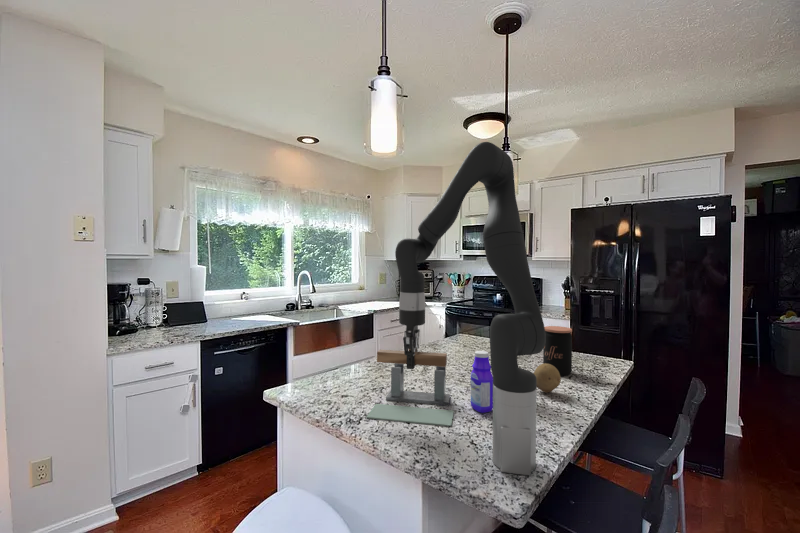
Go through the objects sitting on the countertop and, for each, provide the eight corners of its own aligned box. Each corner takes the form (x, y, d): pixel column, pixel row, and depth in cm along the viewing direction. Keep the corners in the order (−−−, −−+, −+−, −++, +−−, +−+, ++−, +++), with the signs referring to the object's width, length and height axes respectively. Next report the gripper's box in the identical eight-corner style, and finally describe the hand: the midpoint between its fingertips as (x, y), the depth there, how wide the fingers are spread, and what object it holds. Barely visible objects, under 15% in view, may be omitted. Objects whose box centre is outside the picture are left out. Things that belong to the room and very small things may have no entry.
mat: (451, 426, 100) (451, 425, 100) (366, 418, 105) (366, 416, 105) (453, 412, 110) (453, 410, 110) (376, 404, 115) (376, 403, 115)
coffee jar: (537, 370, 152) (537, 327, 152) (556, 367, 157) (556, 325, 157) (558, 378, 143) (558, 331, 142) (577, 374, 147) (578, 329, 147)
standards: (448, 405, 115) (448, 372, 115) (385, 400, 119) (386, 367, 119) (450, 397, 122) (450, 366, 122) (391, 392, 126) (391, 362, 126)
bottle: (466, 406, 115) (467, 350, 114) (482, 403, 117) (483, 348, 116) (480, 415, 108) (480, 355, 108) (496, 412, 110) (497, 354, 110)
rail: (445, 366, 104) (445, 356, 104) (377, 362, 108) (377, 351, 108) (446, 363, 107) (446, 353, 107) (379, 359, 111) (379, 349, 111)
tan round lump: (564, 398, 122) (565, 368, 122) (537, 397, 122) (537, 367, 122) (555, 388, 131) (555, 360, 131) (529, 388, 131) (529, 360, 131)
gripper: (421, 311, 100) (420, 375, 100) (428, 305, 113) (428, 361, 114) (393, 310, 101) (393, 373, 102) (404, 304, 115) (404, 359, 115)
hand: (411, 366), depth 108 cm, fingers closed on rail, 3 cm apart
